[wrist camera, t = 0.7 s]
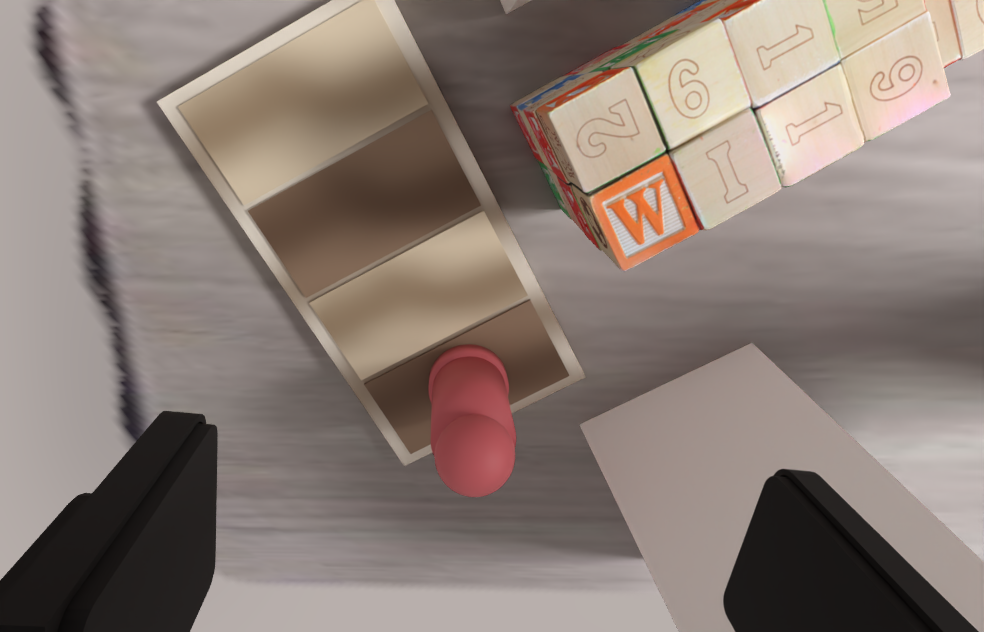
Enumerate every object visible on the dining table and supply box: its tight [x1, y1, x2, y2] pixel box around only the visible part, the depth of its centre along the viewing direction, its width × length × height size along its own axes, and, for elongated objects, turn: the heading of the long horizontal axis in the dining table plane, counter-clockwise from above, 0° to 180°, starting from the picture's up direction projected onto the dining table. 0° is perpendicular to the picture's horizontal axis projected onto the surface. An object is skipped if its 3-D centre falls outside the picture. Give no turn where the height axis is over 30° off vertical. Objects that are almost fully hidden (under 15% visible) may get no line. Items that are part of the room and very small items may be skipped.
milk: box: [579, 343, 984, 632], centre depth 27 cm, size 12×12×26 cm
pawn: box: [429, 344, 516, 497], centre depth 30 cm, size 4×4×9 cm
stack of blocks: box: [510, 0, 984, 272], centre depth 25 cm, size 21×6×12 cm, turn 118°
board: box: [157, 0, 586, 466], centre depth 32 cm, size 23×12×1 cm, turn 27°
